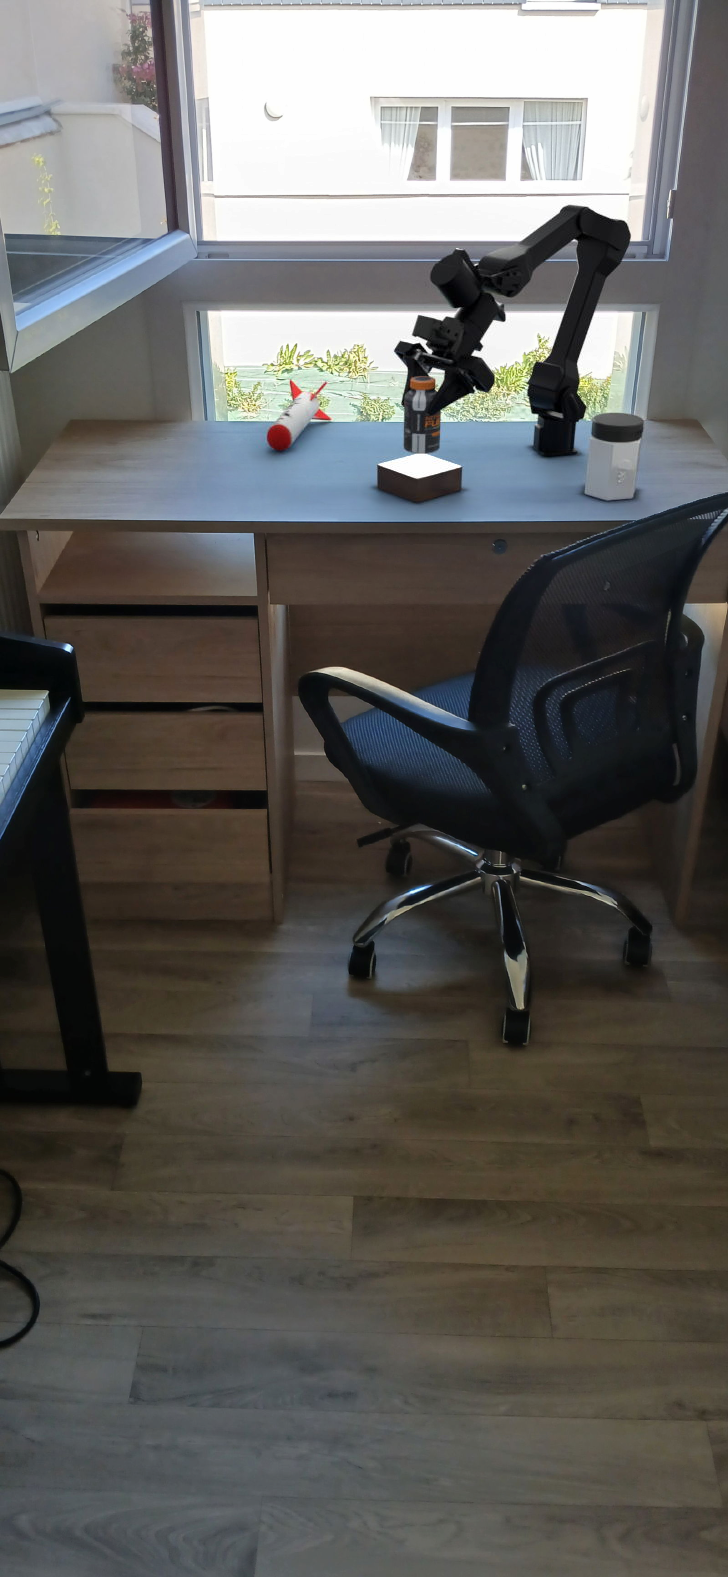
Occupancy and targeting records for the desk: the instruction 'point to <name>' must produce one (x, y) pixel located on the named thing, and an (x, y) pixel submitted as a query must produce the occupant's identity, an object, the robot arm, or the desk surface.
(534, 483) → the desk surface
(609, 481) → the jar
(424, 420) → the pill bottle
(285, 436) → the model rocket
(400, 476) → the block
